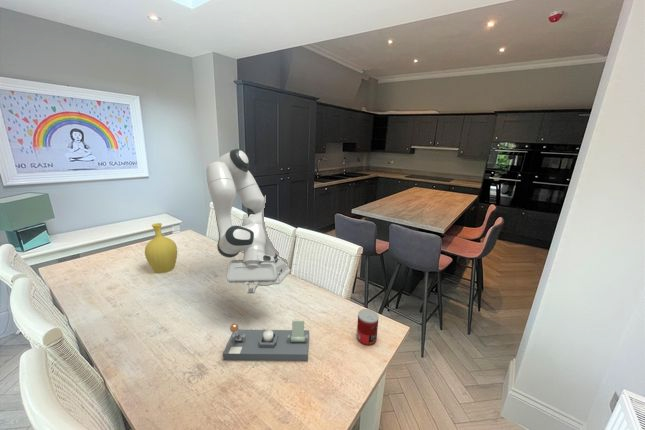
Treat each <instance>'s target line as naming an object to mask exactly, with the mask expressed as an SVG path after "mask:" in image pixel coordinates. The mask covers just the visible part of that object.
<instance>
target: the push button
mask: <svg viewBox="0 0 645 430" xmlns="http://www.w3.org/2000/svg"><path fill="white" fill-rule="evenodd" d="M265 330H266V331H265V332H264V333H263V338H264V341H265V342H271V341H272V340H273V331H272V330H273V329H265Z"/></svg>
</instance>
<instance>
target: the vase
mask: <svg viewBox="0 0 645 430" xmlns="http://www.w3.org/2000/svg"><path fill="white" fill-rule="evenodd" d="M151 227H152V228H153V230H154V235H155V236H154V238H152V239H150V240H149V242H148V243H146V245H145V248H144V256H145V259H146V261H147V263H148V265H149V266H150V268H151V269H152V270H153V272H154V273H156V274H164V273H168V272H171V271H173V270H174V269H175V266H176V263H177V258H178V247H177V244H176V242H175V241H174V240H172V239H171V238H169V237H166V236H164V235H163V234H162V229H161V228H162V223H160V222H157V223H153V224H152V225H151Z"/></svg>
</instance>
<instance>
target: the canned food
mask: <svg viewBox="0 0 645 430" xmlns="http://www.w3.org/2000/svg"><path fill="white" fill-rule="evenodd" d="M356 327H357V328H356V338H357V340H358V342H359V343H361V344H362V345H364V346H371V345H374V344H375V343H376V342H377V340H378V339H377V338H378V331H379V330H378V329H379V314H378V312H376V311H374V310H372V309H369V308H363V309H360V310H359V311H358V314H357V326H356Z"/></svg>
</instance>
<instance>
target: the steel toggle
mask: <svg viewBox="0 0 645 430" xmlns="http://www.w3.org/2000/svg"><path fill="white" fill-rule="evenodd" d="M238 329H239V325H238V324H237V323H232V324H231V325H230V327H229V330H230V332H234V334H235V341H242V337H243V335H240V334H239V331H238Z"/></svg>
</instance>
